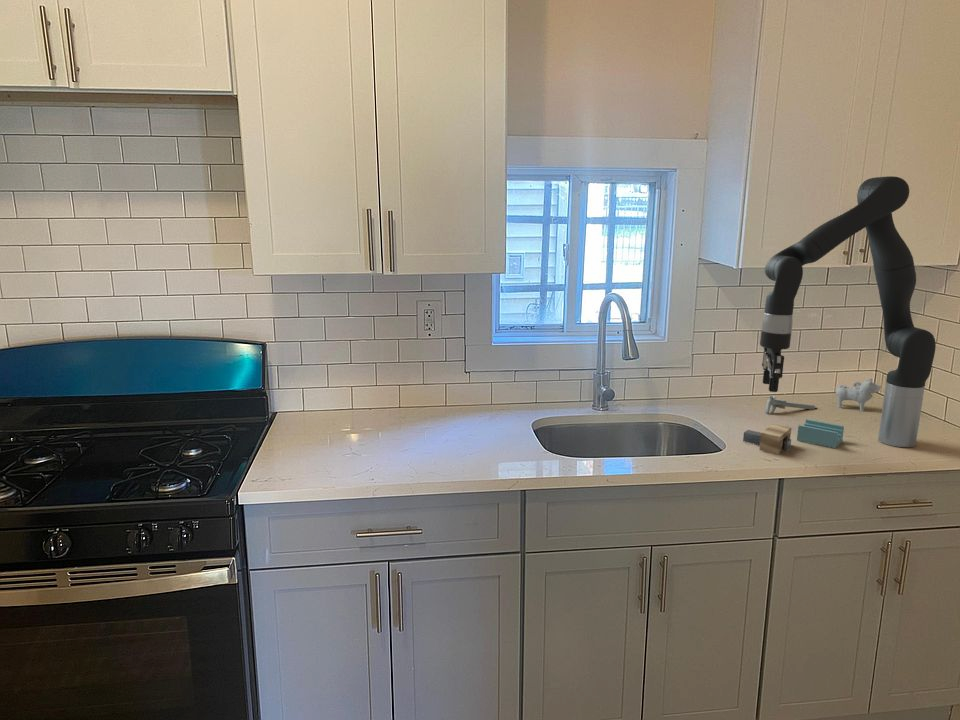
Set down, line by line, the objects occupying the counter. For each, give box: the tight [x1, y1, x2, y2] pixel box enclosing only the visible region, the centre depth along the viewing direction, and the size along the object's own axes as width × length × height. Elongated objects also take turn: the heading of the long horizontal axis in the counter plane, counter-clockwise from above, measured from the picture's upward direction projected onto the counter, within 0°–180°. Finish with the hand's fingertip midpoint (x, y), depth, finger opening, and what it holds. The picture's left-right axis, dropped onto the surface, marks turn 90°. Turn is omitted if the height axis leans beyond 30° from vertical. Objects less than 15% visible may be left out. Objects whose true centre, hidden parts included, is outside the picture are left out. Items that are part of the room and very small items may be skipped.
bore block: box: [759, 423, 792, 455], centre depth 185 cm, size 10×5×5 cm, turn 139°
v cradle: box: [796, 418, 845, 449], centre depth 191 cm, size 8×10×4 cm
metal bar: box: [742, 429, 792, 452], centre depth 188 cm, size 3×12×3 cm, turn 47°
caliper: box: [764, 395, 818, 415], centre depth 219 cm, size 20×1×6 cm, turn 108°
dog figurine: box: [835, 378, 882, 413], centre depth 221 cm, size 5×13×11 cm, turn 60°
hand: (769, 387), depth 184 cm, fingers open, 8 cm apart
